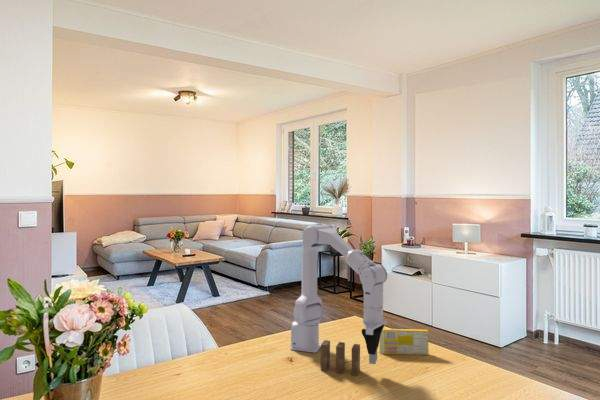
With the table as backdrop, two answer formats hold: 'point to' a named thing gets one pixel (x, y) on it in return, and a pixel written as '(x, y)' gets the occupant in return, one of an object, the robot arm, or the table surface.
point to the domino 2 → (340, 357)
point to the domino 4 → (373, 358)
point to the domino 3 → (355, 360)
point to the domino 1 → (325, 355)
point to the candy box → (404, 341)
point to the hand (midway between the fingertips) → (373, 350)
